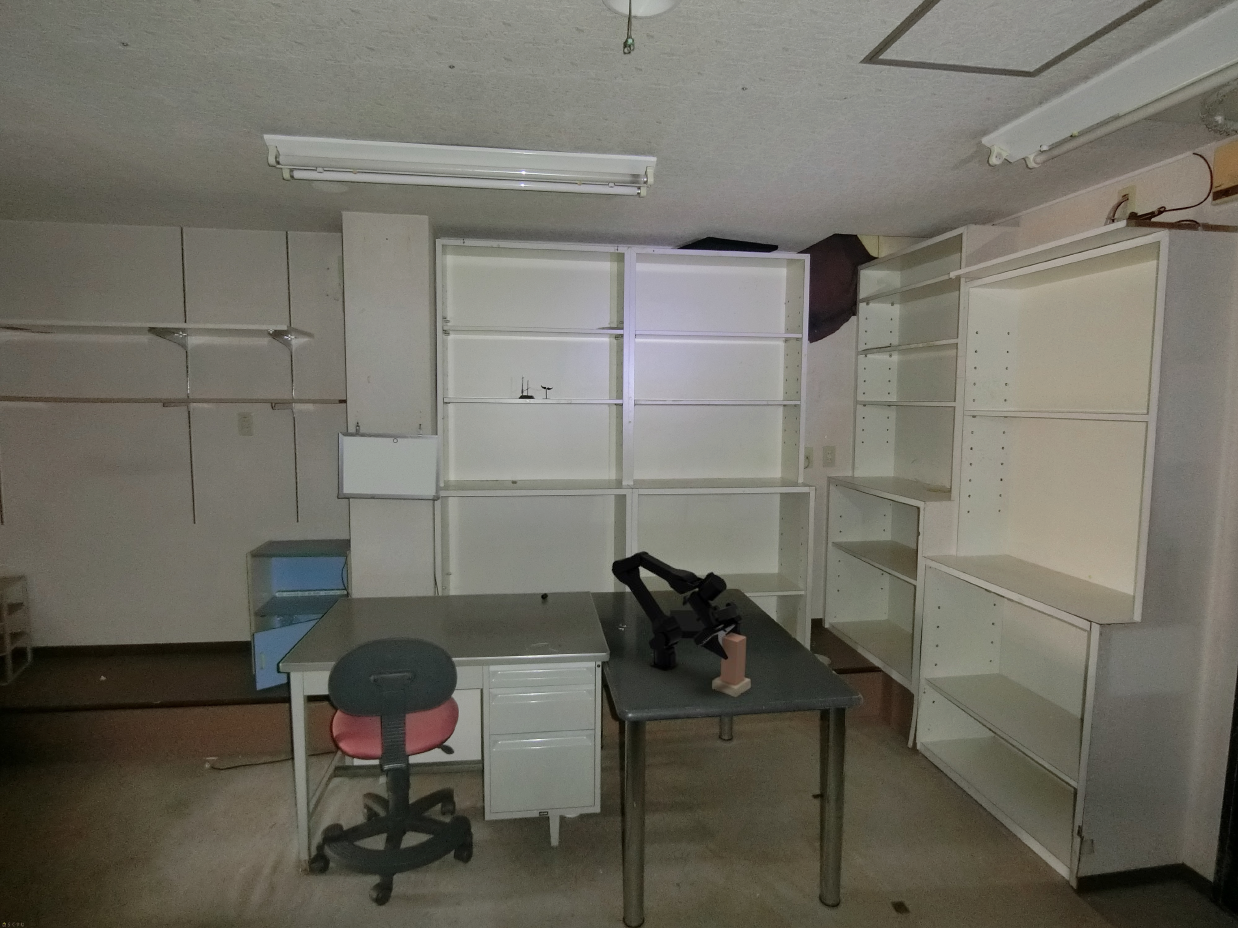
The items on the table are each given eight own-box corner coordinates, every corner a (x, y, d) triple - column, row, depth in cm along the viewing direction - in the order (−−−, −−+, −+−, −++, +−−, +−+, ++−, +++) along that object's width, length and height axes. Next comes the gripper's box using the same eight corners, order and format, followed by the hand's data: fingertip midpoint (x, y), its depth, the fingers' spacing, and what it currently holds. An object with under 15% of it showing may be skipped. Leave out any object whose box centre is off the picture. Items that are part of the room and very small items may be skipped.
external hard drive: (670, 639, 225) (670, 630, 225) (670, 617, 248) (670, 609, 248) (710, 639, 224) (710, 631, 224) (706, 617, 247) (706, 610, 247)
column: (720, 680, 184) (722, 637, 182) (729, 674, 188) (731, 632, 186) (735, 685, 181) (737, 641, 179) (744, 679, 184) (746, 636, 183)
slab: (712, 690, 184) (712, 680, 184) (727, 681, 190) (727, 671, 190) (736, 698, 179) (736, 688, 179) (750, 689, 185) (750, 679, 185)
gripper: (702, 601, 178) (735, 649, 172) (737, 587, 192) (769, 631, 185) (679, 622, 184) (711, 669, 178) (715, 607, 198) (746, 650, 191)
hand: (735, 654), depth 183 cm, fingers open, 9 cm apart
